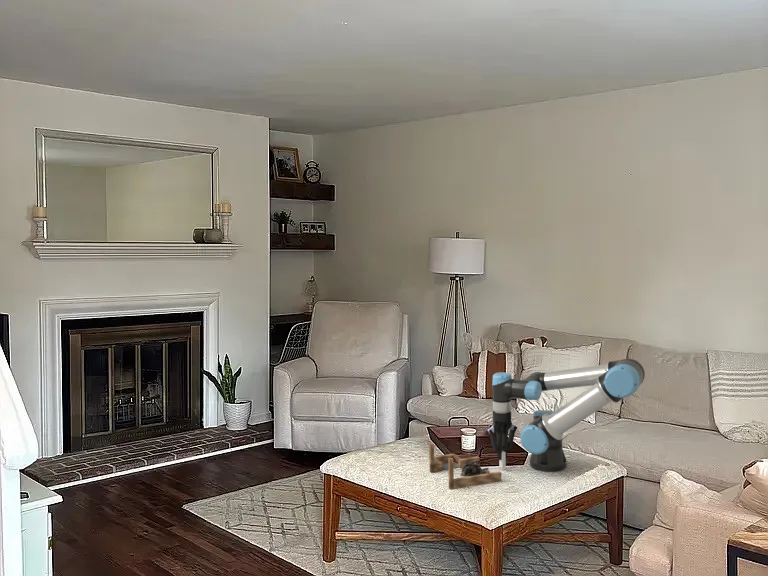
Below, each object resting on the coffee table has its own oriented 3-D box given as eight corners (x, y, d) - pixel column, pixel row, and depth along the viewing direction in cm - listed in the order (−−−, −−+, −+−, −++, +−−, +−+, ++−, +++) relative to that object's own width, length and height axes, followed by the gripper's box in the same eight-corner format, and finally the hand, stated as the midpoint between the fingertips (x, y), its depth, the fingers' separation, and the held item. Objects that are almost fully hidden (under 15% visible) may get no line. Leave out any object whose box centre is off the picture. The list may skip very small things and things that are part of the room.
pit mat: (452, 463, 328) (452, 462, 328) (458, 467, 322) (458, 467, 322) (436, 465, 326) (436, 464, 325) (442, 470, 319) (442, 469, 319)
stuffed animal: (457, 478, 308) (461, 453, 317) (460, 492, 314) (464, 468, 323) (487, 479, 305) (490, 454, 313) (489, 494, 311) (492, 469, 320)
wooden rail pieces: (470, 459, 332) (470, 431, 331) (501, 481, 306) (501, 451, 304) (422, 466, 325) (422, 438, 324) (450, 489, 298) (449, 459, 297)
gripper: (511, 406, 320) (512, 461, 323) (483, 410, 316) (484, 466, 319) (520, 411, 313) (521, 467, 316) (491, 414, 309) (492, 471, 312)
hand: (502, 466), depth 317 cm, fingers closed
